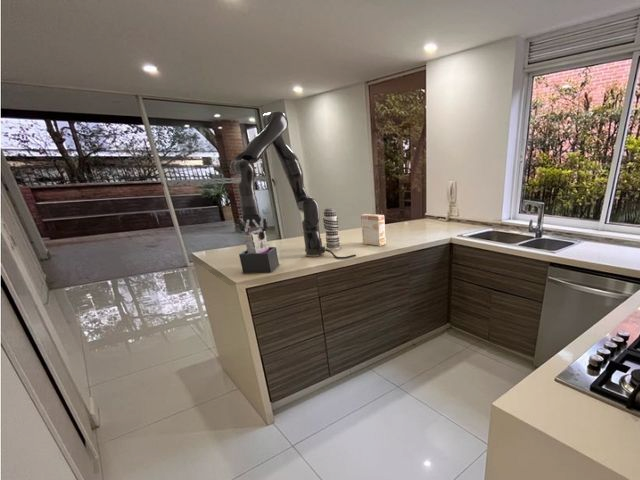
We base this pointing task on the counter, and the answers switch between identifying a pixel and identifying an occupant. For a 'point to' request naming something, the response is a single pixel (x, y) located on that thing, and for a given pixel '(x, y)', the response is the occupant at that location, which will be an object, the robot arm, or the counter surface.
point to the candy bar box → (256, 242)
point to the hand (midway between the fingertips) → (256, 239)
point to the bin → (259, 261)
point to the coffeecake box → (373, 229)
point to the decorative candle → (331, 229)
